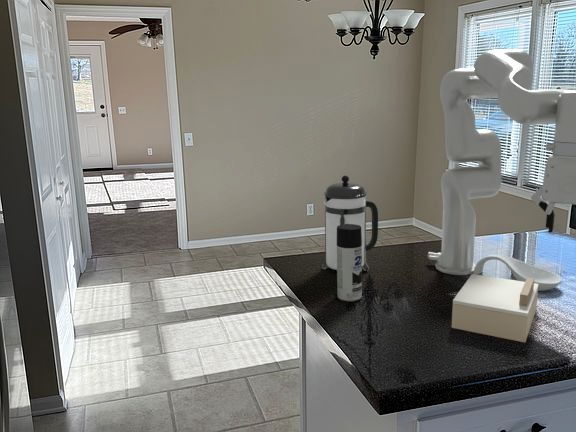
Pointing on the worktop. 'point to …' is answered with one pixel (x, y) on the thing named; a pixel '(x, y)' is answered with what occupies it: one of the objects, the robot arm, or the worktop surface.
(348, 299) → the spray can
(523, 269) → the spoon rest
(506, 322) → the box
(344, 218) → the coffee press
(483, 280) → the lid
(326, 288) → the worktop surface
